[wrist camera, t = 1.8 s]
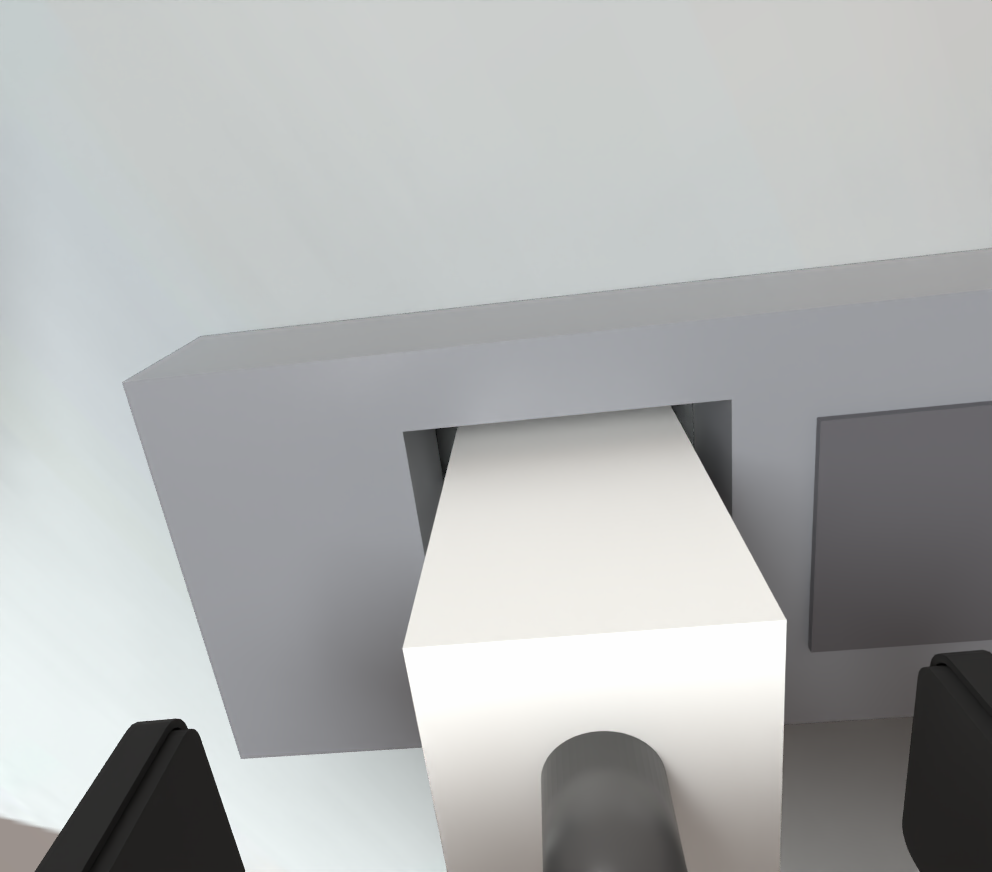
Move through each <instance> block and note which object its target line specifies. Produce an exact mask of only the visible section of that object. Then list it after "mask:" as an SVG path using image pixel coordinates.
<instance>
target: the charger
mask: <svg viewBox="0 0 992 872" xmlns="http://www.w3.org/2000/svg"><path fill="white" fill-rule="evenodd" d="M786 623H787V620H786V618H785V616H784V614H783V613H782V611H781V609H780V607H779V605H778V603H777V601H776V600H775V598H774V596H773V594H772V592H771V590H770V588H769V587H768V585H767V583H766V581H765V579H764V577H763V576H762V574H761V572H760V570H759V568H758V566H757V564H756V563H755V561H754V559H753V557H752V555H751V553H750V552H749V550H748V548H747V546H746V544H745V542H744V540H743V539H742V537H741V535H740V533H739V531H738V529H737V527H736V526H735V524H734V522H733V520H732V518H731V516H730V515H729V513H728V511H727V509H726V507H725V505H724V503H723V502H722V500H721V498H720V496H719V494H718V492H717V491H716V489H715V487H714V485H713V483H712V481H711V479H710V478H709V476H708V474H707V472H706V470H705V468H704V467H703V465H702V463H701V461H700V459H699V457H698V455H697V454H696V452H695V450H694V448H693V446H692V444H691V442H690V441H689V439H688V437H687V435H686V433H685V431H684V430H683V428H682V426H681V424H680V422H679V420H678V418H677V417H676V415H675V413H674V411H673V409H672V407H671V406H660V407H650V408H640V409H629V410H619V411H609V412H599V413H589V414H578V415H568V416H558V417H548V418H538V419H527V420H517V421H507V422H497V423H487V424H477V425H466V426H458V428H457V432H456V436H455V440H454V444H453V448H452V452H451V456H450V460H449V464H448V468H447V472H446V476H445V480H444V484H443V488H442V492H441V496H440V500H439V504H438V508H437V512H436V516H435V520H434V524H433V528H432V532H431V536H430V540H429V544H428V548H427V552H426V556H425V560H424V564H423V568H422V572H421V576H420V580H419V584H418V588H417V592H416V596H415V600H414V604H413V608H412V612H411V616H410V620H409V624H408V628H407V632H406V636H405V640H404V644H403V653H404V658H405V663H406V668H407V673H408V678H409V683H410V688H411V693H412V698H413V703H414V708H415V713H416V718H417V723H418V728H419V733H420V738H421V743H422V748H423V753H424V758H425V763H426V768H427V773H428V778H429V783H430V788H431V793H432V798H433V803H434V808H435V813H436V818H437V823H438V828H439V833H440V838H441V843H442V848H443V853H444V858H445V863H446V868H447V872H780V849H781V811H782V774H783V736H784V698H785V661H786Z"/></svg>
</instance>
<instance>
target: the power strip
mask: <svg viewBox="0 0 992 872" xmlns="http://www.w3.org/2000/svg"><path fill="white" fill-rule="evenodd" d="M122 383H123V387H124V390H125V393H126V396H127V399H128V402H129V406H130V409H131V412H132V415H133V418H134V421H135V425H136V428H137V431H138V434H139V437H140V440H141V444H142V447H143V450H144V453H145V456H146V459H147V463H148V466H149V469H150V472H151V475H152V478H153V482H154V485H155V488H156V491H157V494H158V497H159V501H160V504H161V507H162V510H163V513H164V516H165V520H166V523H167V526H168V529H169V532H170V535H171V539H172V542H173V545H174V548H175V551H176V554H177V558H178V561H179V564H180V567H181V570H182V574H183V577H184V580H185V583H186V586H187V589H188V593H189V596H190V599H191V602H192V605H193V608H194V612H195V615H196V618H197V621H198V624H199V627H200V631H201V634H202V637H203V640H204V643H205V646H206V650H207V653H208V656H209V659H210V662H211V665H212V669H213V672H214V675H215V678H216V681H217V684H218V688H219V691H220V694H221V697H222V700H223V703H224V707H225V710H226V713H227V716H228V719H229V722H230V726H231V729H232V732H233V735H234V738H235V741H236V745H237V748H238V751H239V754H240V757H241V759H246V758H261V757H277V756H293V755H309V754H325V753H341V752H357V751H373V750H389V749H405V748H421V747H422V743H421V738H420V733H419V728H418V723H417V718H416V713H415V708H414V703H413V698H412V693H411V688H410V683H409V678H408V673H407V668H406V663H405V658H404V653H403V644H404V640H405V636H406V632H407V628H408V624H409V620H410V616H411V612H412V608H413V604H414V600H415V596H416V592H417V588H418V584H419V580H420V576H421V572H422V568H423V564H424V560H425V556H426V552H427V548H428V544H429V540H430V536H431V532H432V528H433V524H434V520H435V516H436V512H437V508H438V504H439V500H440V496H441V492H442V488H443V484H444V482H443V475H442V469H441V463H440V457H439V450H438V444H437V438H436V431H435V429H436V428H446V427H456V426H466V425H477V424H487V423H497V422H507V421H517V420H527V419H538V418H548V417H558V416H568V415H578V414H589V413H599V412H609V411H619V410H629V409H640V408H650V407H660V406H670V405H680V404H690V403H693V419H694V450H695V452H696V454H697V455H698V457H699V459H700V461H701V463H702V465H703V467H704V468H705V470H706V472H707V474H708V476H709V478H710V479H711V481H712V483H713V485H714V487H715V489H716V491H717V492H718V494H719V496H720V498H721V500H722V502H723V503H724V505H725V507H726V509H727V511H728V513H729V515H730V516H731V518H732V520H733V522H734V524H735V526H736V527H737V529H738V531H739V533H740V535H741V537H742V539H743V540H744V542H745V544H746V546H747V548H748V550H749V552H750V553H751V555H752V557H753V559H754V561H755V563H756V564H757V566H758V568H759V570H760V572H761V574H762V576H763V577H764V579H765V581H766V583H767V585H768V587H769V588H770V590H771V592H772V594H773V596H774V598H775V600H776V601H777V603H778V605H779V607H780V609H781V611H782V613H783V614H784V616H785V618H786V620H787V623H786V661H785V698H784V725H787V724H803V723H819V722H835V721H851V720H867V719H883V718H899V717H914V707H915V698H916V688H917V679H918V673H919V670H920V669H921V668H922V667H929V666H930V663H931V659H932V658H933V656H934V655H936V654H939V653H950V652H962V651H974V650H986V651H989V652H991V653H992V248H989V249H980V250H971V251H962V252H953V253H944V254H935V255H926V256H917V257H908V258H899V259H890V260H881V261H872V262H863V263H854V264H845V265H836V266H827V267H818V268H809V269H800V270H791V271H782V272H773V273H764V274H755V275H746V276H737V277H728V278H719V279H710V280H701V281H692V282H683V283H674V284H665V285H656V286H647V287H638V288H629V289H620V290H611V291H602V292H594V293H585V294H576V295H567V296H558V297H549V298H540V299H531V300H522V301H513V302H504V303H495V304H486V305H477V306H468V307H459V308H450V309H441V310H432V311H423V312H414V313H405V314H396V315H387V316H378V317H369V318H360V319H351V320H342V321H333V322H324V323H315V324H306V325H297V326H288V327H279V328H270V329H261V330H252V331H243V332H234V333H225V334H216V335H207V336H200V337H198V338H197V339H195V340H193V341H192V342H190V343H188V344H186V345H185V346H183V347H181V348H180V349H178V350H176V351H175V352H173V353H171V354H169V355H168V356H166V357H164V358H163V359H161V360H159V361H158V362H156V363H154V364H152V365H151V366H149V367H147V368H146V369H144V370H142V371H140V372H139V373H137V374H135V375H134V376H132V377H130V378H129V379H127V380H125V381H123V382H122Z"/></svg>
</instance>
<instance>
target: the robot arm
mask: <svg viewBox="0 0 992 872" xmlns="http://www.w3.org/2000/svg"><path fill="white" fill-rule="evenodd" d="M902 828H903V835H904V838H905V842H906V845H907V848H908V851H909V853H910V855H911V857H912V859H913V860H914V862H915V864H916V866H917V867H918V869H919V871H920V872H992V653H991V652H989V651H986V650H974V651H962V652H950V653H939V654H936V655H934V656H933V658H932V659H931V663H930V666H929V667H922V668H921V669H920V670H919V673H918V679H917V688H916V698H915V707H914V717H913V726H912V735H911V745H910V754H909V764H908V773H907V782H906V792H905V801H904V811H903V820H902ZM35 872H245V869H244V866H243V863H242V860H241V857H240V854H239V851H238V848H237V845H236V842H235V839H234V836H233V833H232V830H231V827H230V824H229V821H228V818H227V815H226V812H225V809H224V806H223V803H222V800H221V798H220V795H219V792H218V789H217V786H216V783H215V780H214V777H213V774H212V771H211V768H210V765H209V762H208V759H207V756H206V753H205V750H204V747H203V744H202V741H201V738H200V736H199V734H198V732H197V731H196V730H195V729H188V728H187V726H186V724H185V722H183V721H182V720H181V719H167V720H155V721H143V722H136V723H135V724H133V725H131V726H130V728H129V729H128V730H127V731H126V733H125V734H124V736H123V737H122V739H121V740H120V742H119V743H118V745H117V746H116V748H115V749H114V751H113V753H112V754H111V756H110V757H109V759H108V760H107V762H106V763H105V765H104V766H103V768H102V769H101V771H100V772H99V774H98V776H97V777H96V779H95V780H94V782H93V783H92V785H91V786H90V788H89V789H88V791H87V792H86V794H85V795H84V797H83V798H82V800H81V802H80V803H79V805H78V806H77V808H76V809H75V811H74V812H73V814H72V815H71V817H70V818H69V820H68V821H67V823H66V825H65V826H64V828H63V829H62V831H61V832H60V834H59V835H58V837H57V838H56V840H55V841H54V843H53V845H52V846H51V848H50V849H49V851H48V852H47V854H46V855H45V857H44V858H43V860H42V861H41V863H40V864H39V866H38V868H37V869H36V871H35Z"/></svg>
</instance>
